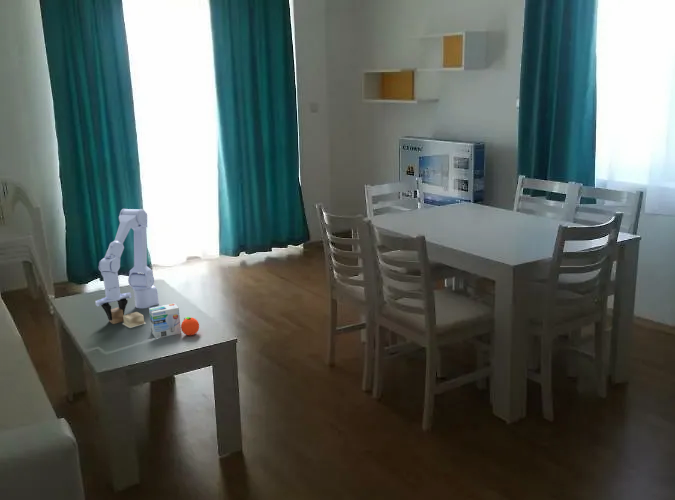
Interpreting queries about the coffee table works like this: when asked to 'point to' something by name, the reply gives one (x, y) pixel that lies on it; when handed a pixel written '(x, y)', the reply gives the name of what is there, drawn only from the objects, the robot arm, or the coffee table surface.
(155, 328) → the light bulb box
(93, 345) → the coffee table surface
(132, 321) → the cream square block
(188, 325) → the clementine
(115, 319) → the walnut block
